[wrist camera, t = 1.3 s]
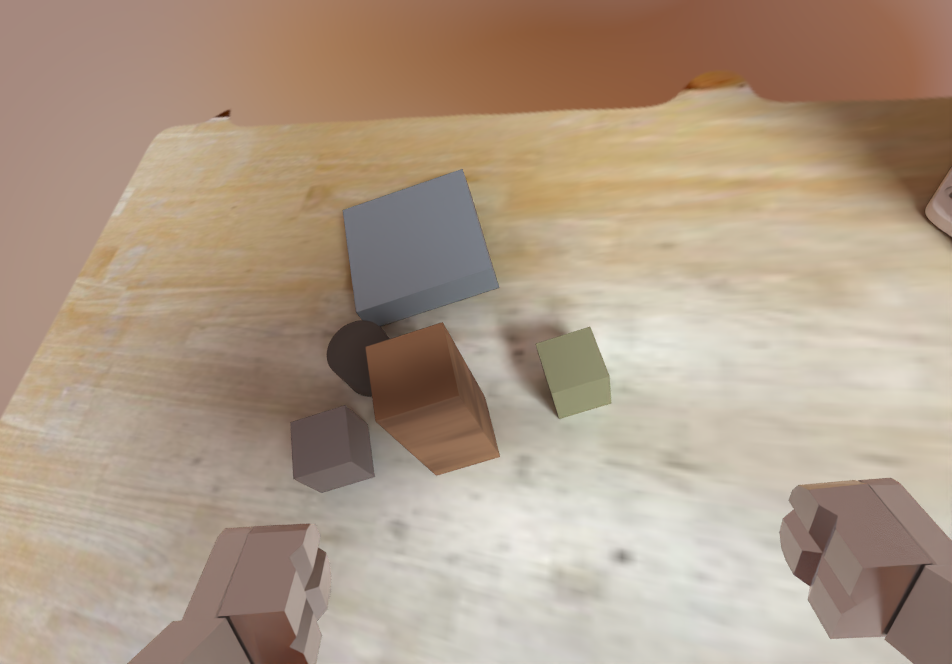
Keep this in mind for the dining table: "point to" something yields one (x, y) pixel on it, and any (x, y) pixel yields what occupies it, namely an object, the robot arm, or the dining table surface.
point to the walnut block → (430, 400)
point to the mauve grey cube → (331, 449)
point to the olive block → (575, 372)
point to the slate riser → (417, 250)
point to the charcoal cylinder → (354, 353)
